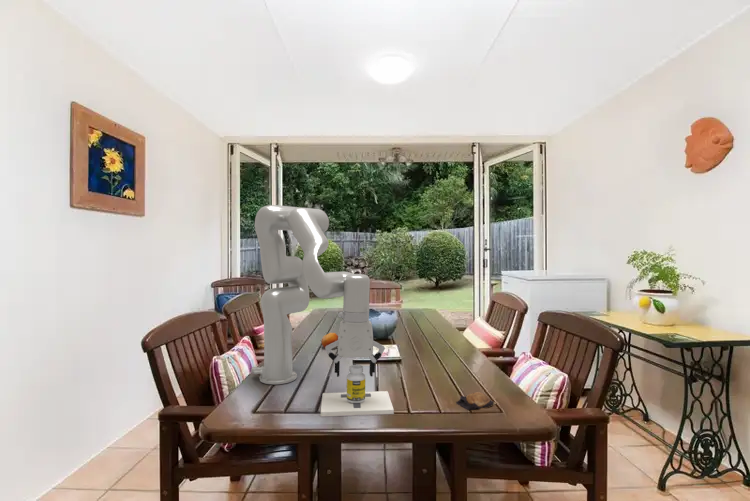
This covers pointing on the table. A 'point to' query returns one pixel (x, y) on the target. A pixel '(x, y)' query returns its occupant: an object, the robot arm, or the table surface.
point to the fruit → (329, 339)
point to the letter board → (356, 404)
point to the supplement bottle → (356, 384)
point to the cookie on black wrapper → (475, 401)
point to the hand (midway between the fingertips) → (354, 375)
